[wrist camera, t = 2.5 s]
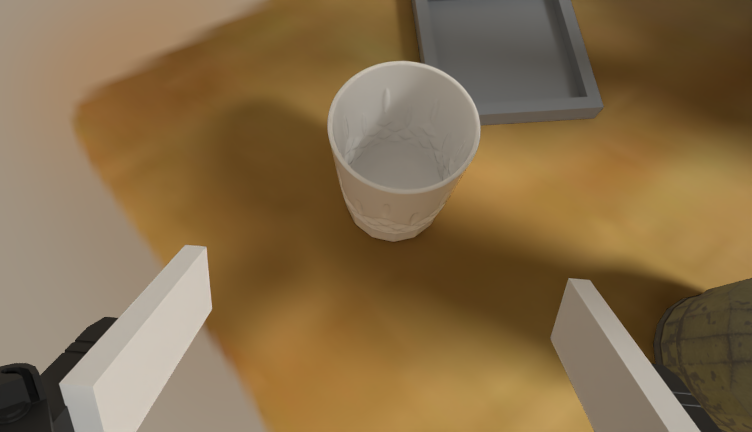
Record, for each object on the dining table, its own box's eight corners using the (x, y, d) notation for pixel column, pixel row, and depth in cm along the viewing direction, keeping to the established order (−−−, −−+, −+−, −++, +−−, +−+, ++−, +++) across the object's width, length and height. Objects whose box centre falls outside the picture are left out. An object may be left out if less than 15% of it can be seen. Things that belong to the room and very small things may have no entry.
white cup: (320, 174, 33) (303, 91, 23) (415, 134, 34) (434, 41, 25) (367, 268, 30) (368, 218, 21) (466, 221, 32) (509, 155, 22)
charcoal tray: (556, -9, 39) (563, -23, 38) (594, 118, 35) (603, 107, 34) (411, -2, 39) (412, -16, 37) (430, 128, 34) (433, 117, 33)
